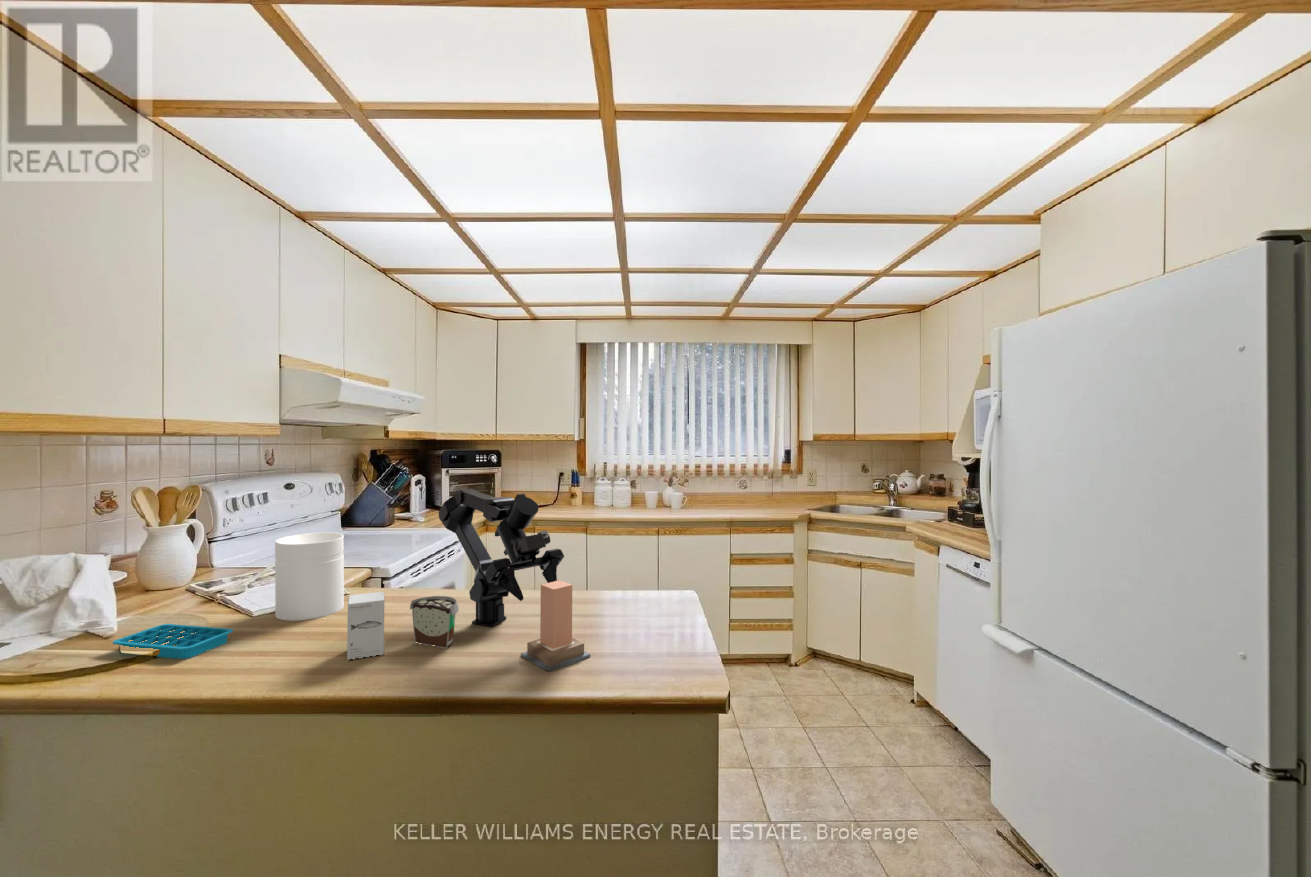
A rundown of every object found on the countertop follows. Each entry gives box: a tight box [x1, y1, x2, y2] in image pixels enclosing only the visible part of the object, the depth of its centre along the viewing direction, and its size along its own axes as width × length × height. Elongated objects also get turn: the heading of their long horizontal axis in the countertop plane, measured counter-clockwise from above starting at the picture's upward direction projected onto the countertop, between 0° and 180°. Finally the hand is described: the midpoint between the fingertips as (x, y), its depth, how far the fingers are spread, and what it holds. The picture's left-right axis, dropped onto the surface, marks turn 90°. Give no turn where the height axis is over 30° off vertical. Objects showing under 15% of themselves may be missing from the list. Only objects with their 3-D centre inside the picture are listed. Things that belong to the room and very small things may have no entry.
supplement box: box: [346, 591, 385, 661], centre depth 122 cm, size 7×7×13 cm
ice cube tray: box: [112, 623, 234, 660], centre depth 124 cm, size 12×20×3 cm, turn 81°
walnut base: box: [520, 637, 591, 673], centre depth 122 cm, size 11×11×3 cm
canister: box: [274, 532, 345, 622], centre depth 150 cm, size 16×16×20 cm
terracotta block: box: [539, 579, 573, 649], centre depth 121 cm, size 5×5×13 cm
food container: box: [409, 595, 460, 650], centre depth 129 cm, size 12×6×10 cm, turn 71°
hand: (539, 595), depth 126 cm, fingers open, 9 cm apart
